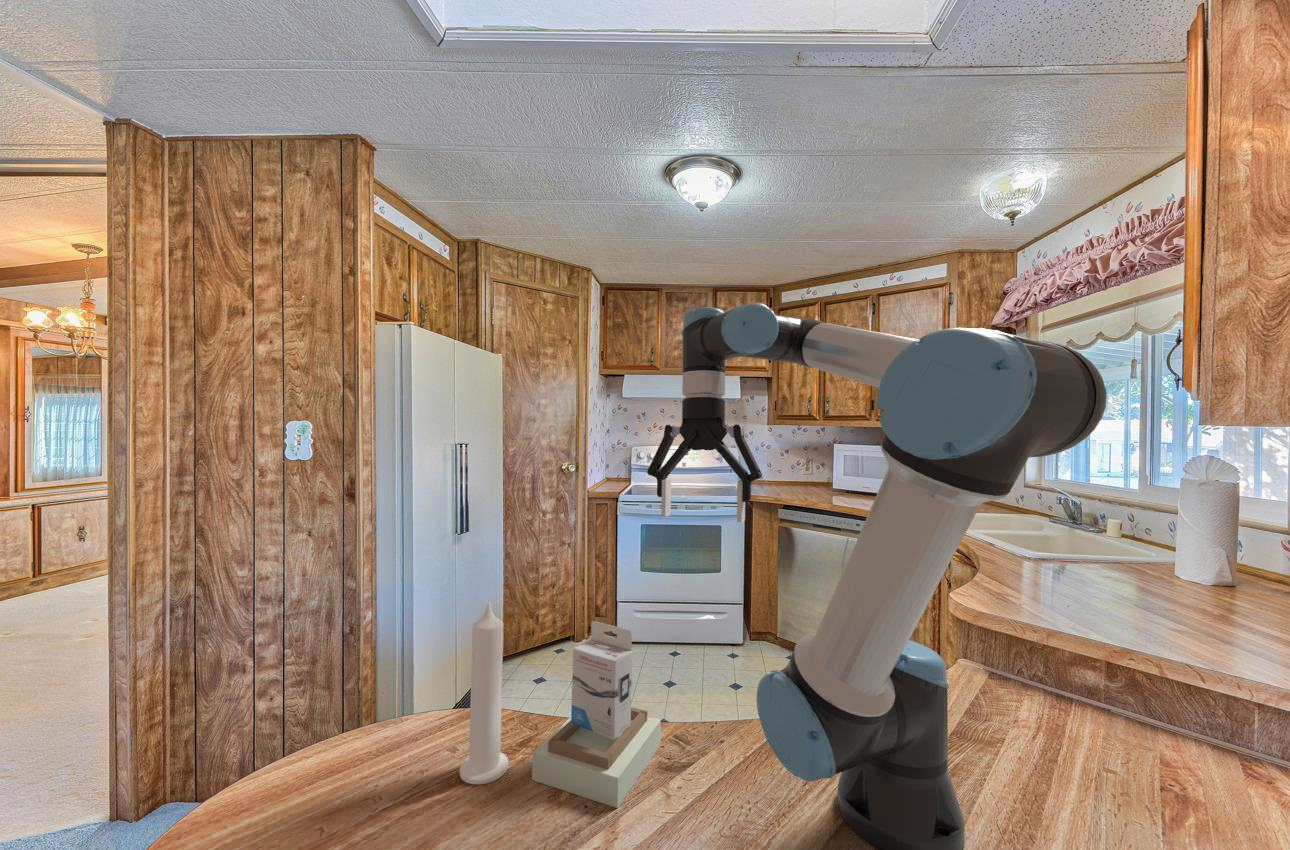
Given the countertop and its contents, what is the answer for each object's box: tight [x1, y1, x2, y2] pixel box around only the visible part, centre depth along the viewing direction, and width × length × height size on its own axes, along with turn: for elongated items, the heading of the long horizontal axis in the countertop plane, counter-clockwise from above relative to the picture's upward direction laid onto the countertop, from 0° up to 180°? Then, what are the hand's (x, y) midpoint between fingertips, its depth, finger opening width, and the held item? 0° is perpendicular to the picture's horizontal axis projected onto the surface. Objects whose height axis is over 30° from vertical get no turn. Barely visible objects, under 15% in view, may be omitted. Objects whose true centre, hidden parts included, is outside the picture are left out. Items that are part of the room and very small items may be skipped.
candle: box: [458, 601, 510, 785], centre depth 77 cm, size 7×7×25 cm
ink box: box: [570, 620, 633, 740], centre depth 79 cm, size 9×5×15 cm, turn 58°
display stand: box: [531, 706, 662, 809], centre depth 79 cm, size 14×16×6 cm
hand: (702, 518), depth 88 cm, fingers open, 13 cm apart
